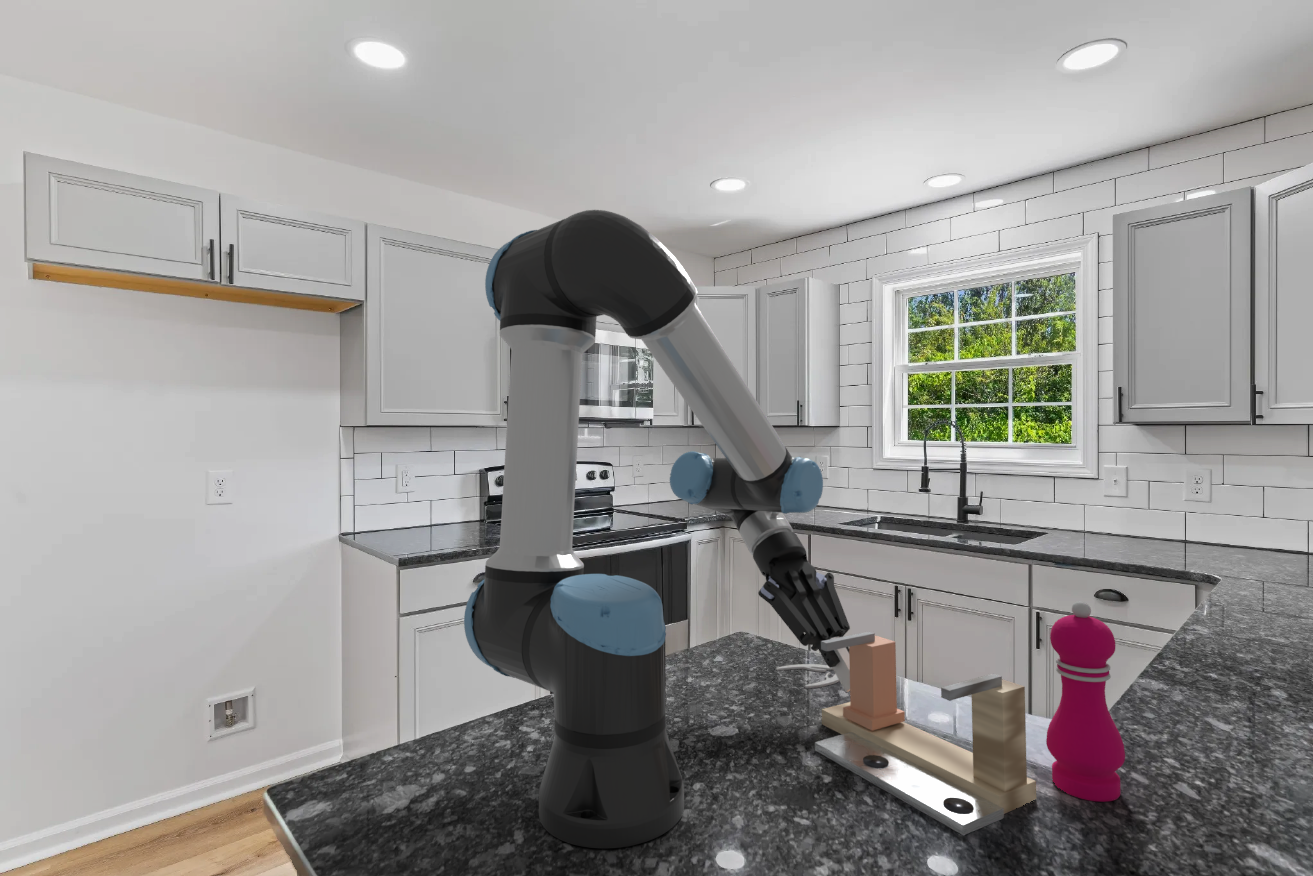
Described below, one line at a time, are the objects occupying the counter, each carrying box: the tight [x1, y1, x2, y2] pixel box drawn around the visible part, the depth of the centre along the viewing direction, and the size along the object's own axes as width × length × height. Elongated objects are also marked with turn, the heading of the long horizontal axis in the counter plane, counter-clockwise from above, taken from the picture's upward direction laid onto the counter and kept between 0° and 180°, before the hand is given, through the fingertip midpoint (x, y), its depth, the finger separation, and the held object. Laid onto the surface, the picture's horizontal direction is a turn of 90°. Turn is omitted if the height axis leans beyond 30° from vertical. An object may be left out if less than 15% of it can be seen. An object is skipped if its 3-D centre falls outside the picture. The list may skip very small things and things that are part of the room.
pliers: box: [775, 663, 840, 690], centre depth 112 cm, size 10×2×15 cm
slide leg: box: [821, 631, 906, 731], centre depth 86 cm, size 11×5×11 cm, turn 118°
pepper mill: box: [1045, 601, 1126, 803], centre depth 74 cm, size 7×7×20 cm
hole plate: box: [814, 732, 1005, 836], centre depth 76 cm, size 6×21×1 cm, turn 28°
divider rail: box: [821, 673, 1037, 815], centre depth 80 cm, size 11×26×13 cm, turn 28°
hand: (855, 685), depth 90 cm, fingers closed
